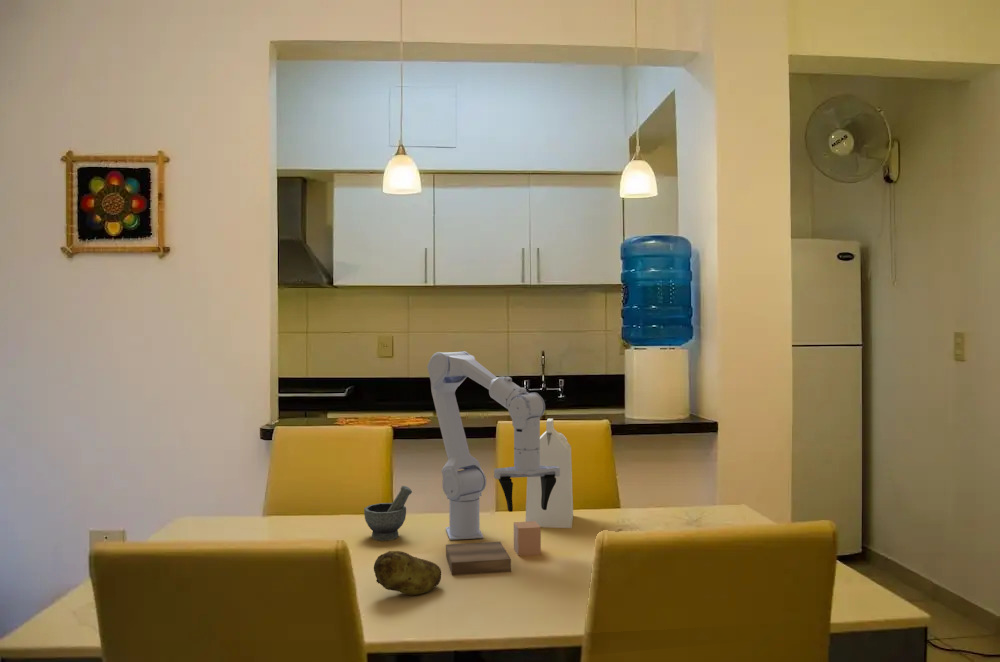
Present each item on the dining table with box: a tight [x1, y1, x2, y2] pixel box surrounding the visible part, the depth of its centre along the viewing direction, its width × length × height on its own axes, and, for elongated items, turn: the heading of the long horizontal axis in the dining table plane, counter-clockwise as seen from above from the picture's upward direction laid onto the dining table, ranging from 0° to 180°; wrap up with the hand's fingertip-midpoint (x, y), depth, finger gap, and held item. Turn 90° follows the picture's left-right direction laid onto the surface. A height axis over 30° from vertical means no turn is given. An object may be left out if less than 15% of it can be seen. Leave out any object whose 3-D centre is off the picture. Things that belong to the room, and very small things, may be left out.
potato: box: [373, 550, 442, 596], centre depth 130 cm, size 8×13×8 cm, turn 104°
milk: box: [525, 418, 574, 529], centre depth 180 cm, size 12×12×26 cm
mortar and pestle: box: [363, 485, 413, 542], centre depth 166 cm, size 11×9×12 cm
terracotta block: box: [513, 521, 542, 557], centre depth 154 cm, size 5×5×6 cm
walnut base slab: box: [445, 541, 512, 576], centre depth 146 cm, size 12×12×2 cm
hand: (527, 509), depth 154 cm, fingers open, 7 cm apart
